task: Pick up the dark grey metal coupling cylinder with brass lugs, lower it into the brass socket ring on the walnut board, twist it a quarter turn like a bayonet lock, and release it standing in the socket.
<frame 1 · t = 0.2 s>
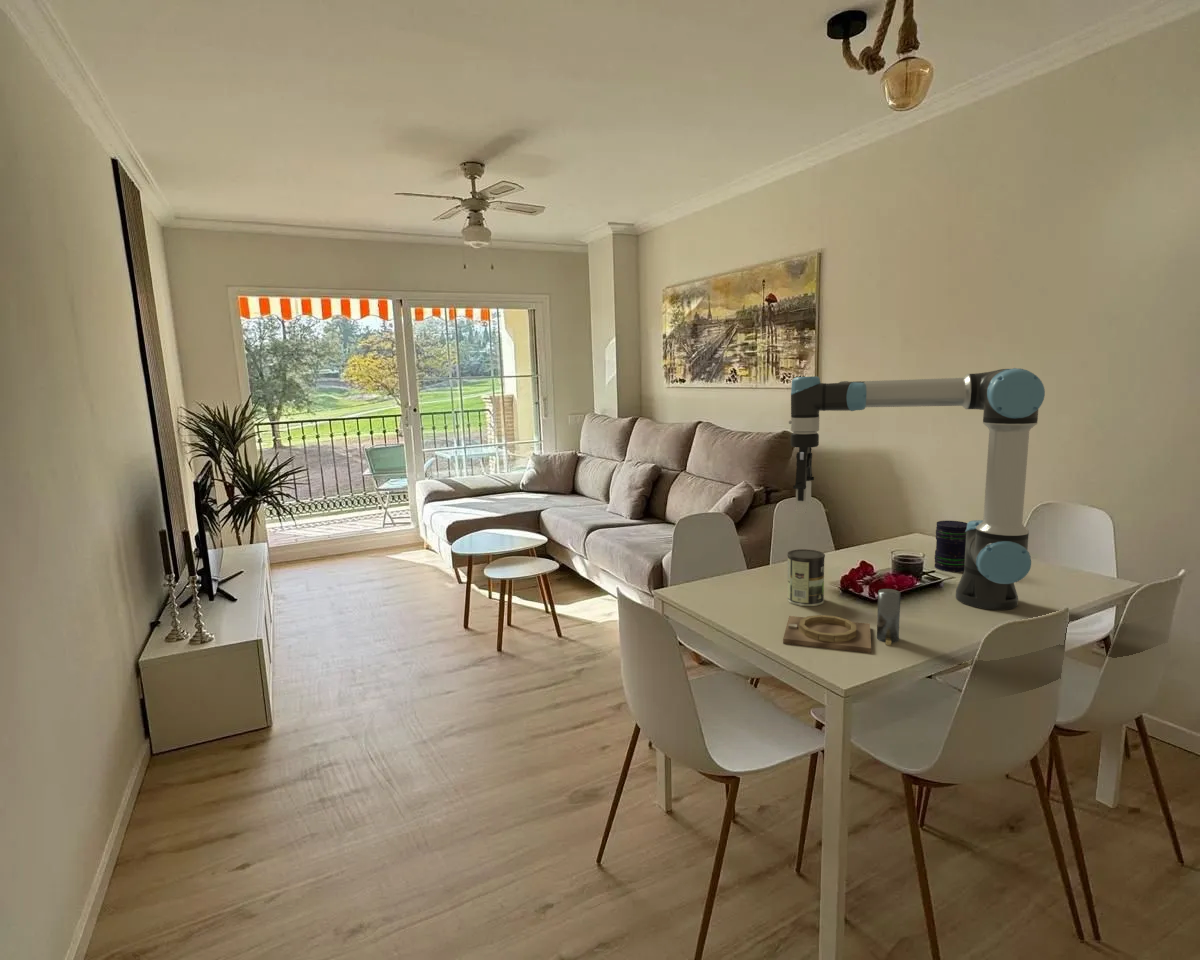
hand: (803, 507, 185), 28 cm above the table, fingers open, 13 cm apart
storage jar: (950, 568, 216), on the table
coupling: (887, 638, 161), on the table
coffee can: (805, 601, 190), on the table
board: (827, 635, 164), on the table
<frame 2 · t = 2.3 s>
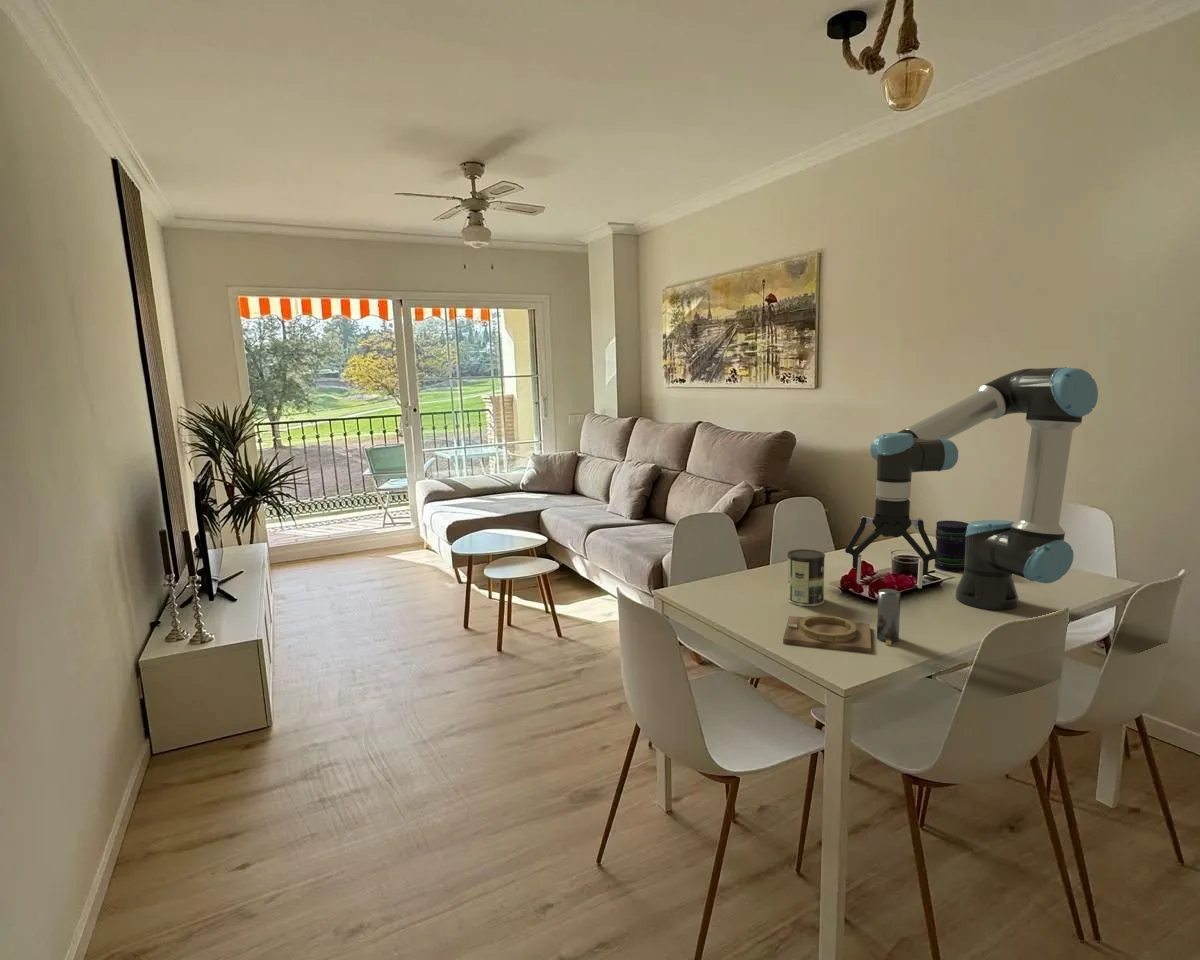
hand: (888, 584, 159), 14 cm above the table, fingers open, 13 cm apart
nothing on the table moved.
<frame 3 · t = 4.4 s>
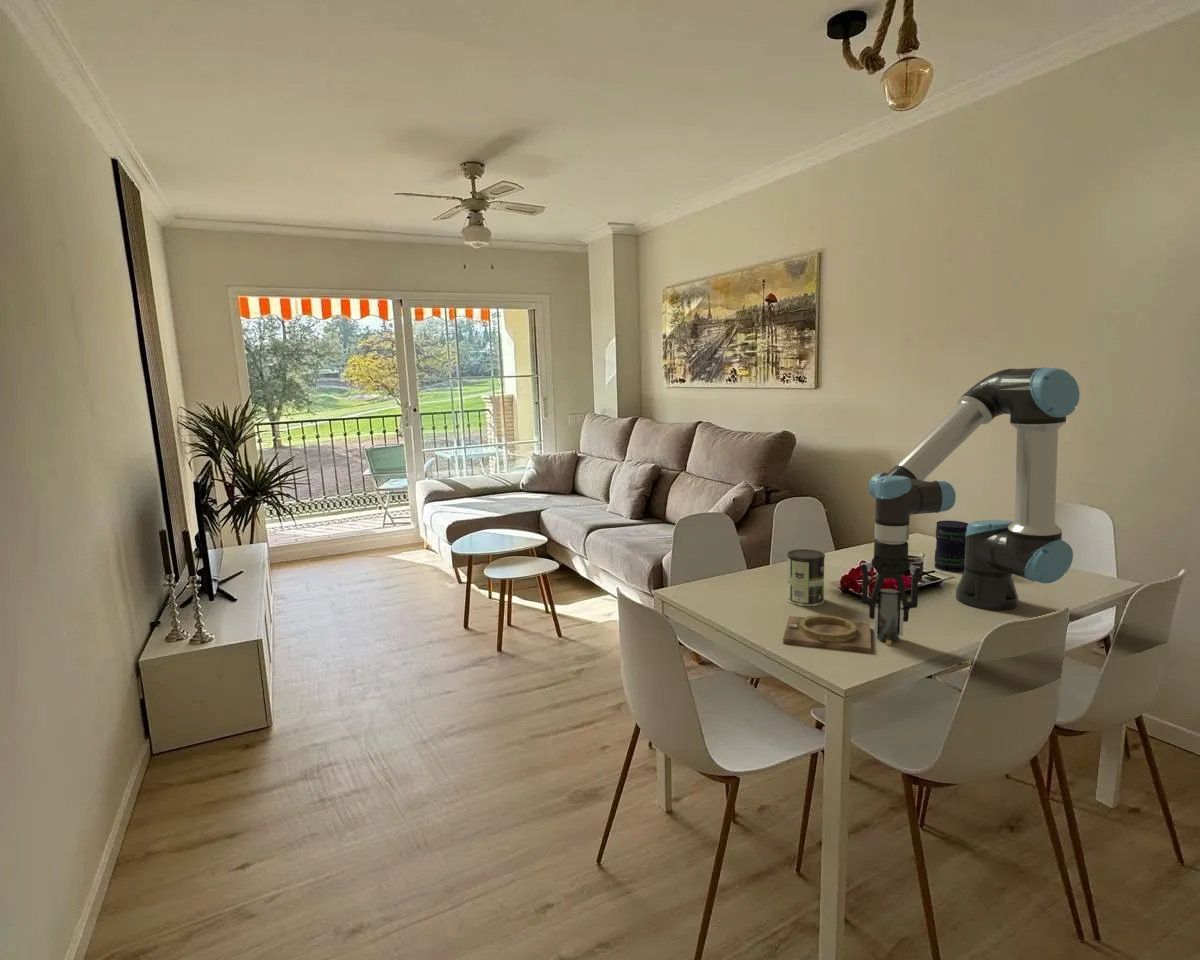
hand: (888, 632, 161), 2 cm above the table, fingers closed on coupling, 5 cm apart
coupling: (887, 638, 161), on the table, touching gripper
everything else where it was.
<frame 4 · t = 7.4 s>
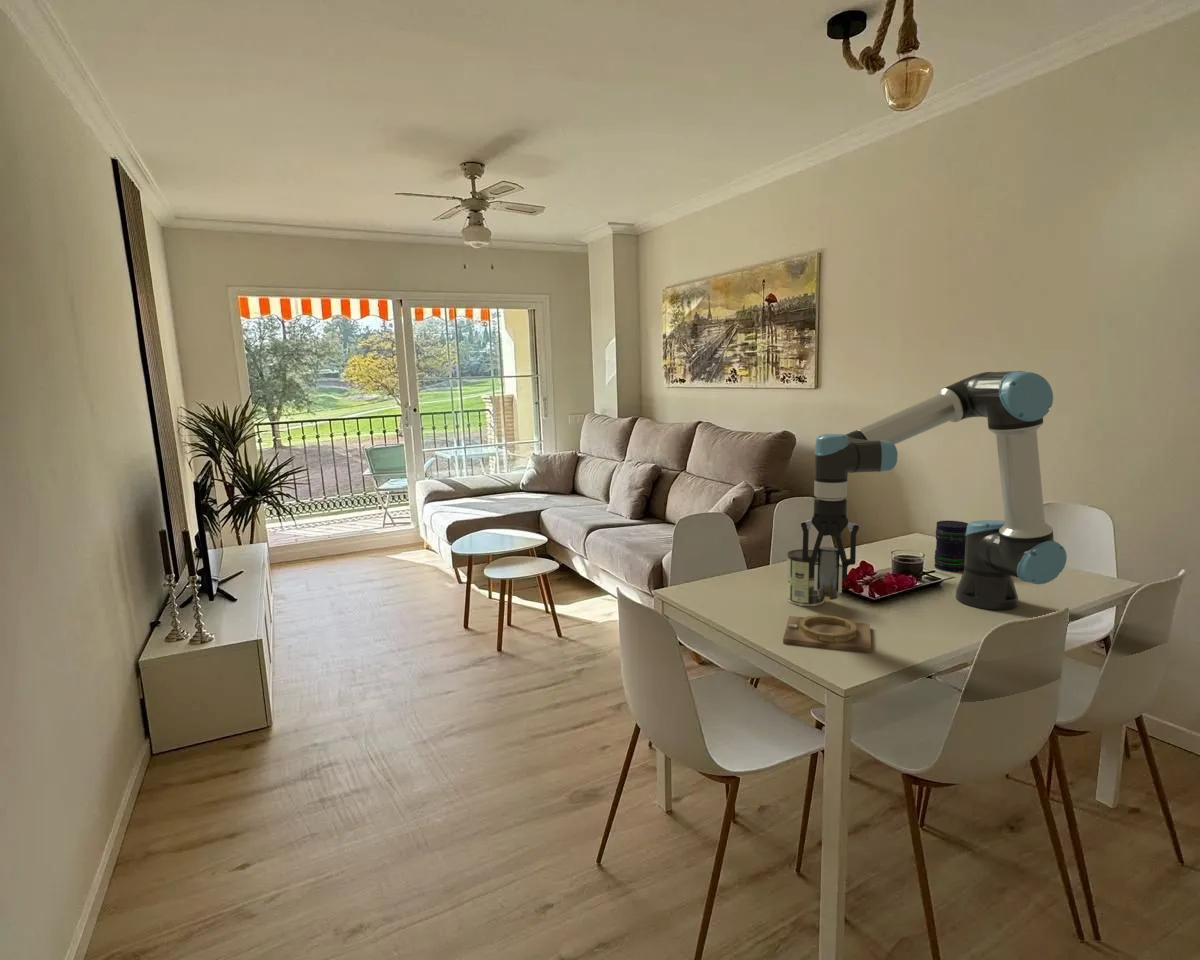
hand: (827, 589, 162), 12 cm above the table, fingers closed on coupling, 5 cm apart
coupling: (827, 596, 163), point 10 cm above the table, touching gripper
everything else where it was.
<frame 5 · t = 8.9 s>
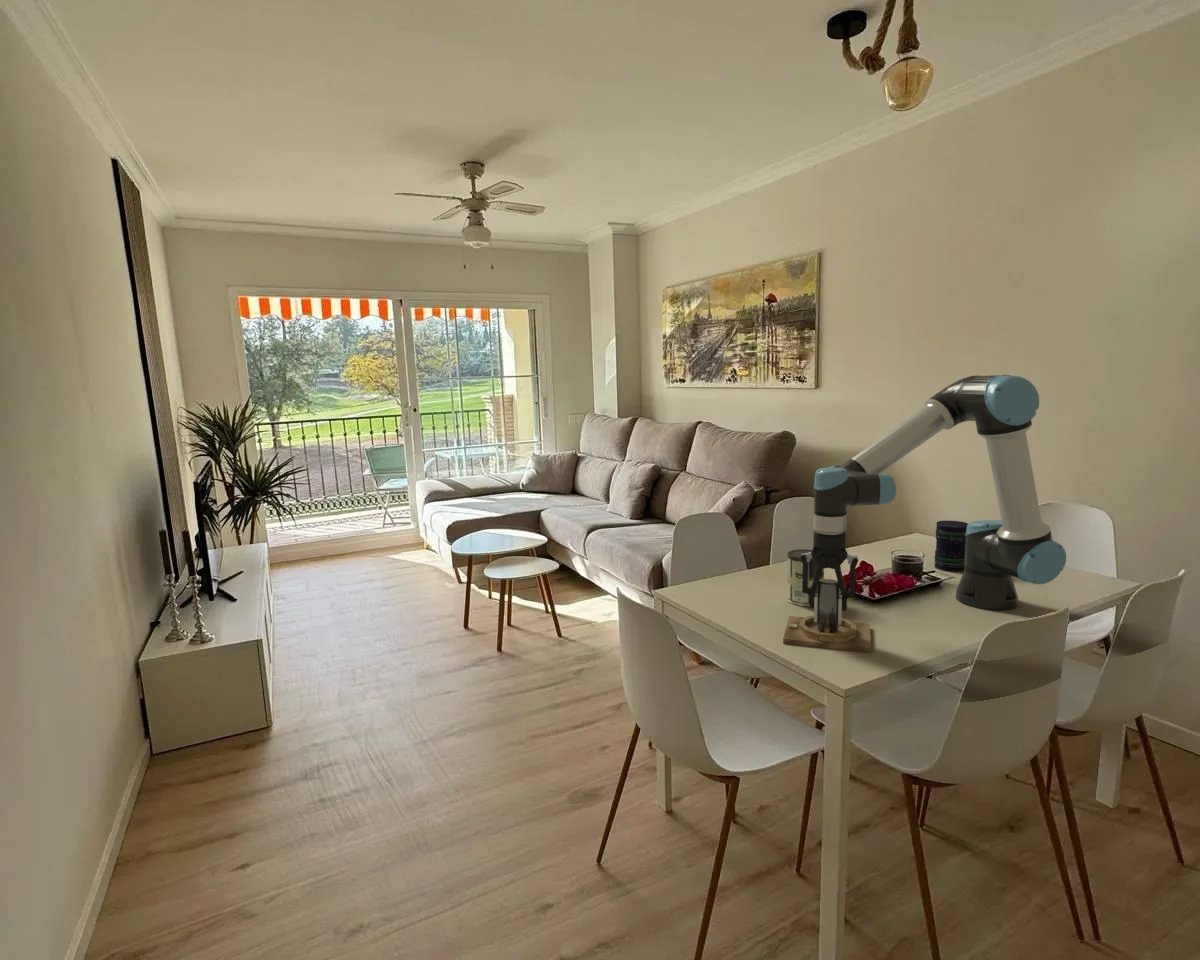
hand: (827, 621, 164), 4 cm above the table, fingers closed on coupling, 5 cm apart
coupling: (827, 628, 164), point 2 cm above the table, touching gripper
everything else where it was.
when the fingers open (4 cm above the table, at t = 10.4 s): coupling stays where it is, resting on board.
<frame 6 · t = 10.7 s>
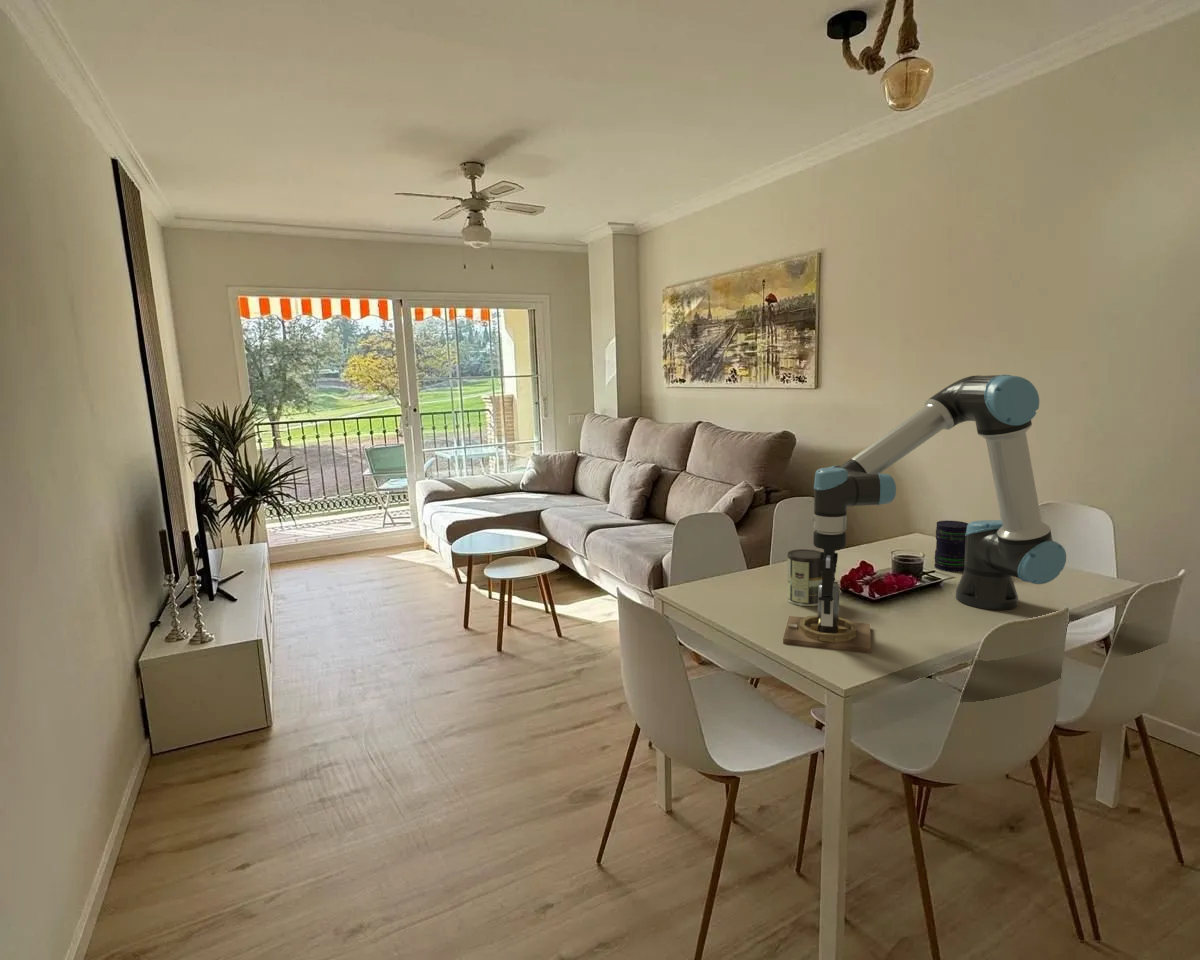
hand: (827, 618, 164), 5 cm above the table, fingers open, 9 cm apart
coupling: (827, 630, 164), point 1 cm above the table, touching board
everything else where it was.
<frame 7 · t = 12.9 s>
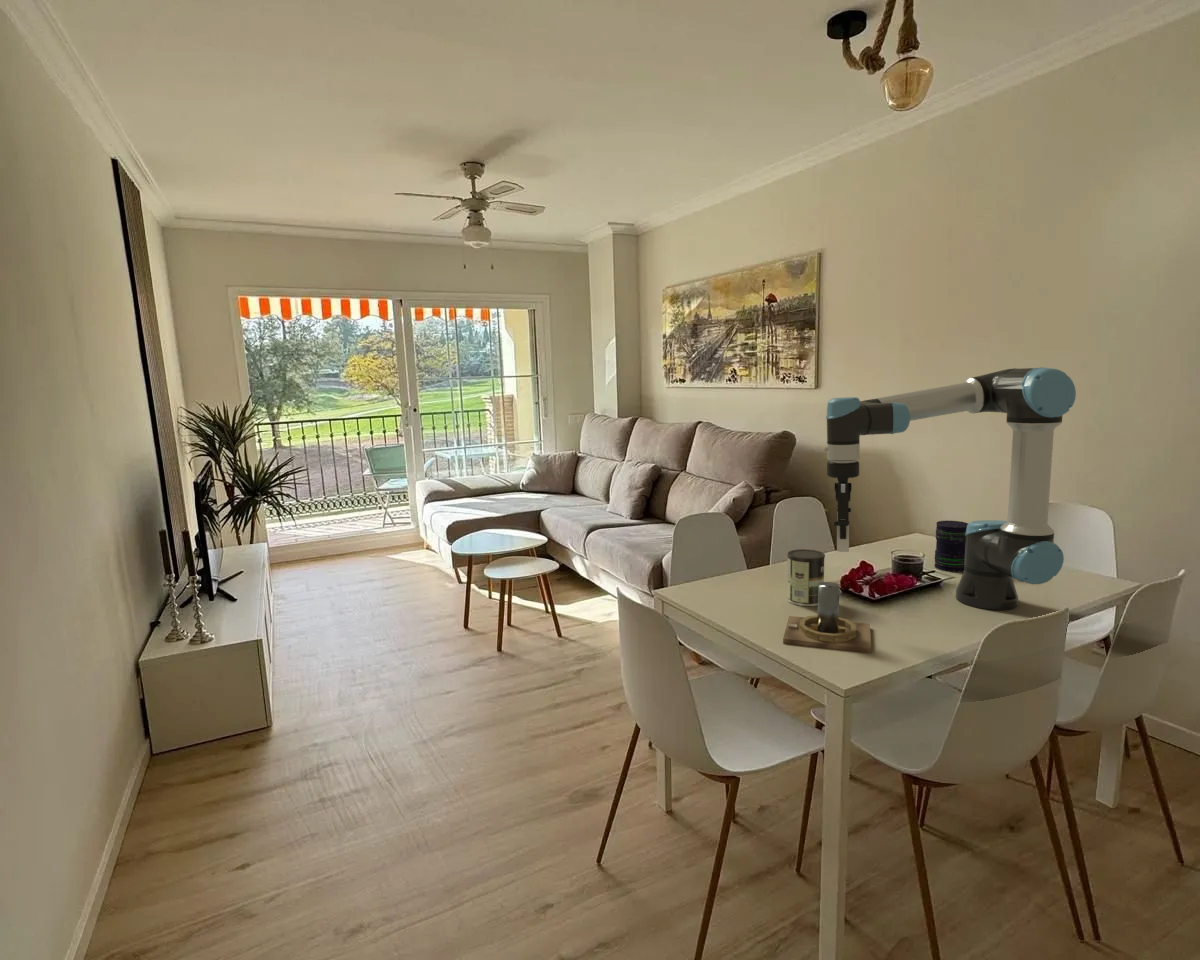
hand: (842, 544, 164), 23 cm above the table, fingers open, 13 cm apart
nothing on the table moved.
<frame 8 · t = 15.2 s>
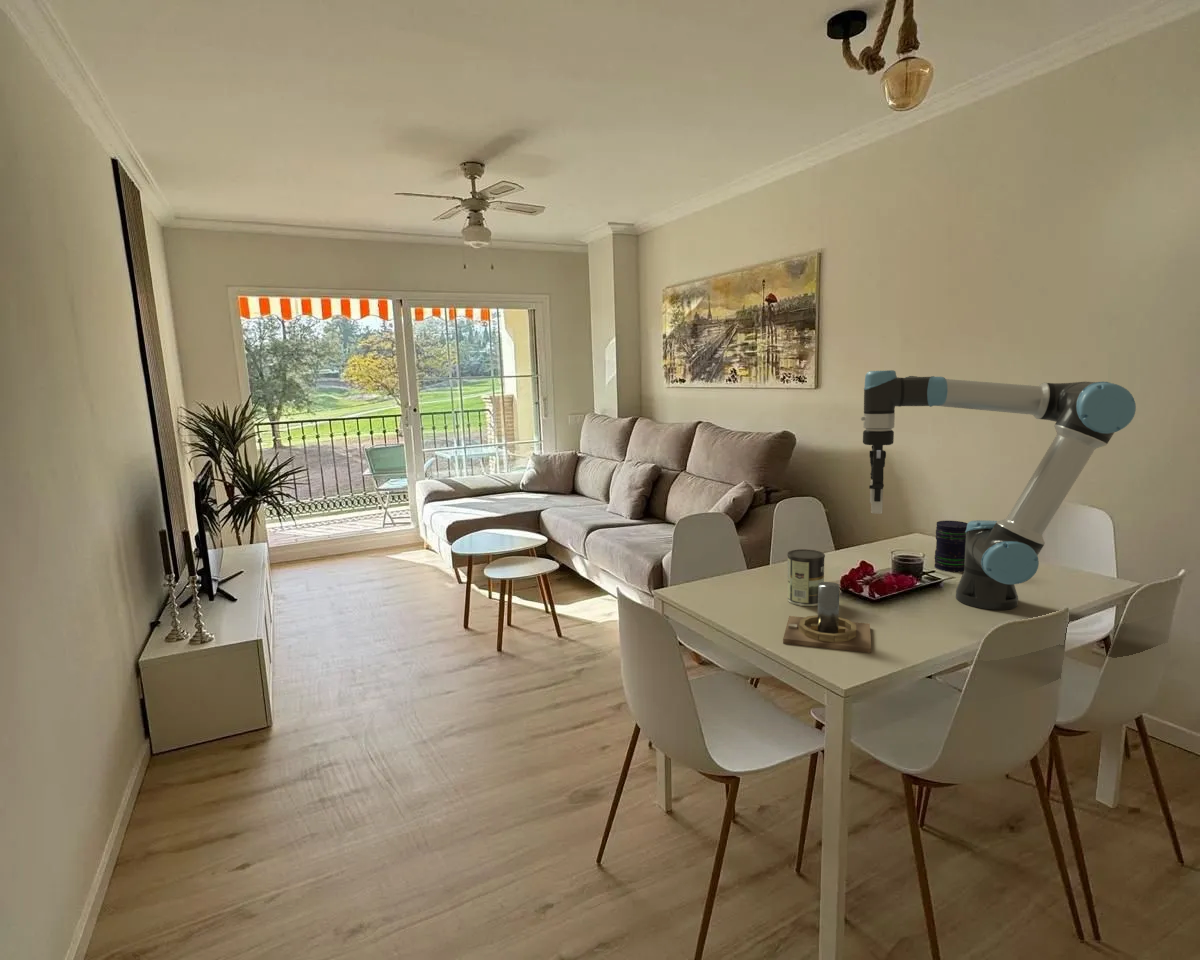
hand: (875, 508, 176), 29 cm above the table, fingers open, 13 cm apart
nothing on the table moved.
at the end: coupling inside the target area on the board (0.1 cm from its centre), point 1.2 cm above the board's base; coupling tilted 0°; the gripper is holding nothing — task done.
